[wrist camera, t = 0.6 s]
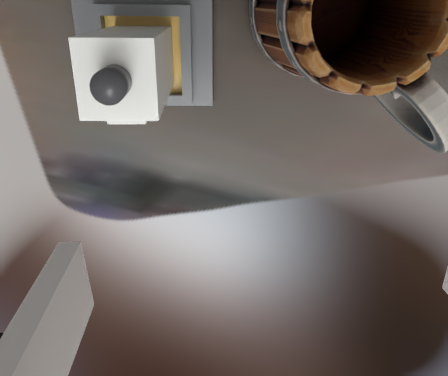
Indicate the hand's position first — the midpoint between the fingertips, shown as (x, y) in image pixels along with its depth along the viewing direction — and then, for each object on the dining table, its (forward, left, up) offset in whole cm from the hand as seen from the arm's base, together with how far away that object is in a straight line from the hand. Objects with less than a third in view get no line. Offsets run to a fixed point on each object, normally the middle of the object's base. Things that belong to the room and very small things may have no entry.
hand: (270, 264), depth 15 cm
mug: (-6, +8, -25) cm, 27 cm away
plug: (-4, -7, -23) cm, 25 cm away
